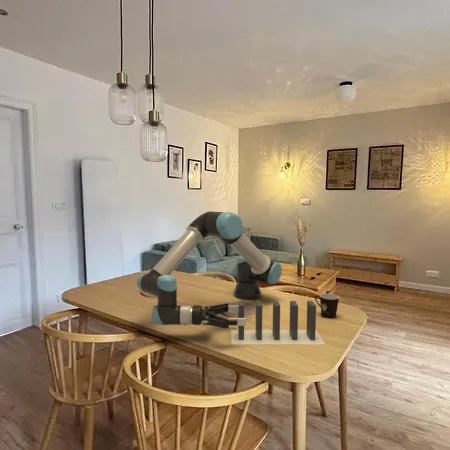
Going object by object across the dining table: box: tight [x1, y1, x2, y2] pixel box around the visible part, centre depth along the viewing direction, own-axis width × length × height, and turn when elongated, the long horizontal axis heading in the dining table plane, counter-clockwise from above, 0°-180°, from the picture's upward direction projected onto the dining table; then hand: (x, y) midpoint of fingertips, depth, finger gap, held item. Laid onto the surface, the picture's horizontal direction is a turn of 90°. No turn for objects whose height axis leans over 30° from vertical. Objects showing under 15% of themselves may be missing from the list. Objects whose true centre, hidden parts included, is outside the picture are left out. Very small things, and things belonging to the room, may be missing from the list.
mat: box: [230, 329, 326, 346], centre depth 131 cm, size 13×36×1 cm, turn 90°
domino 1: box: [237, 300, 245, 340], centre depth 131 cm, size 2×6×14 cm, turn 0°
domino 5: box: [306, 300, 317, 340], centre depth 131 cm, size 2×6×14 cm, turn 0°
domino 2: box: [255, 300, 263, 340], centre depth 131 cm, size 2×6×14 cm, turn 0°
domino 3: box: [272, 300, 281, 340], centre depth 131 cm, size 2×6×14 cm, turn 0°
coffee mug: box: [314, 293, 340, 320], centre depth 155 cm, size 12×9×10 cm
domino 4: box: [289, 300, 299, 340], centre depth 131 cm, size 2×6×14 cm, turn 0°
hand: (245, 315), depth 130 cm, fingers open, 13 cm apart
